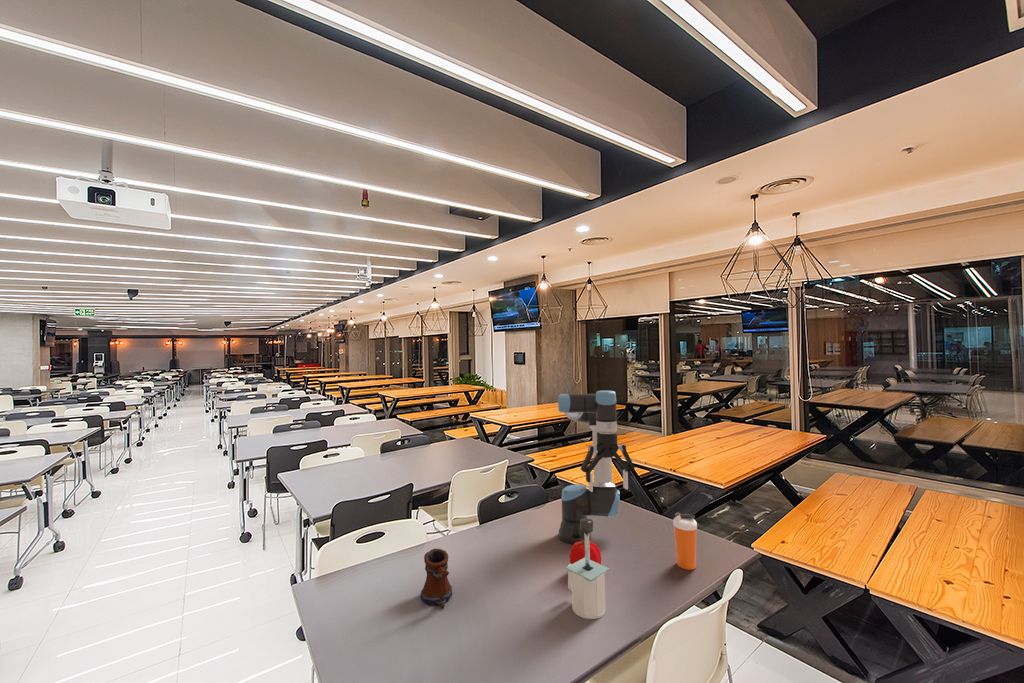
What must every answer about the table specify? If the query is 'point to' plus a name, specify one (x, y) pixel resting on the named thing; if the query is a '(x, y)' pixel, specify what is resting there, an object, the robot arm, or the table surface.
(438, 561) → the mug
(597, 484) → the robot arm
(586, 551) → the plunger
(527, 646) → the table surface
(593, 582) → the press pot
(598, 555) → the tomato
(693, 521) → the shaker bottle
